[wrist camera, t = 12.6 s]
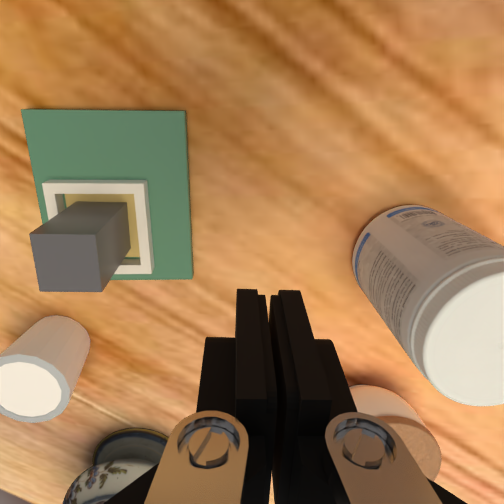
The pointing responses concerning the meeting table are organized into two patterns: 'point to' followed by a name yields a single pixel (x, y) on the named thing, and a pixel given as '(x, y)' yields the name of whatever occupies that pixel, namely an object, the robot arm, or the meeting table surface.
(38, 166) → the board
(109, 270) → the plug
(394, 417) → the lidded jar
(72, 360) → the white cylinder
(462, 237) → the supplement tub
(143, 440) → the apothecary jar
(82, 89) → the meeting table surface
